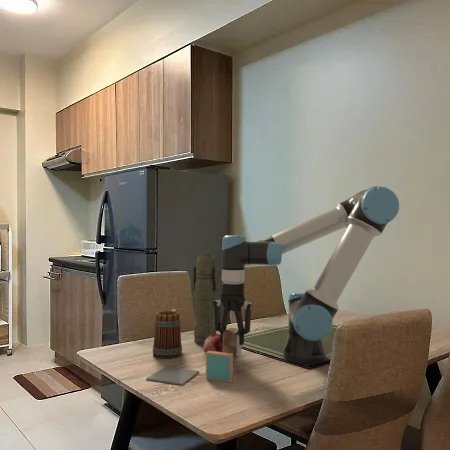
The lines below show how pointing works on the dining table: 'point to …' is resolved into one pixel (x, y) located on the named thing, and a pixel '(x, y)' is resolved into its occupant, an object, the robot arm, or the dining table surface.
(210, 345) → the fruit
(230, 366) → the tile
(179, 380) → the coaster
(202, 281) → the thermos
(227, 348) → the push block
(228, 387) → the dining table surface
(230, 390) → the dining table surface
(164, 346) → the mug
